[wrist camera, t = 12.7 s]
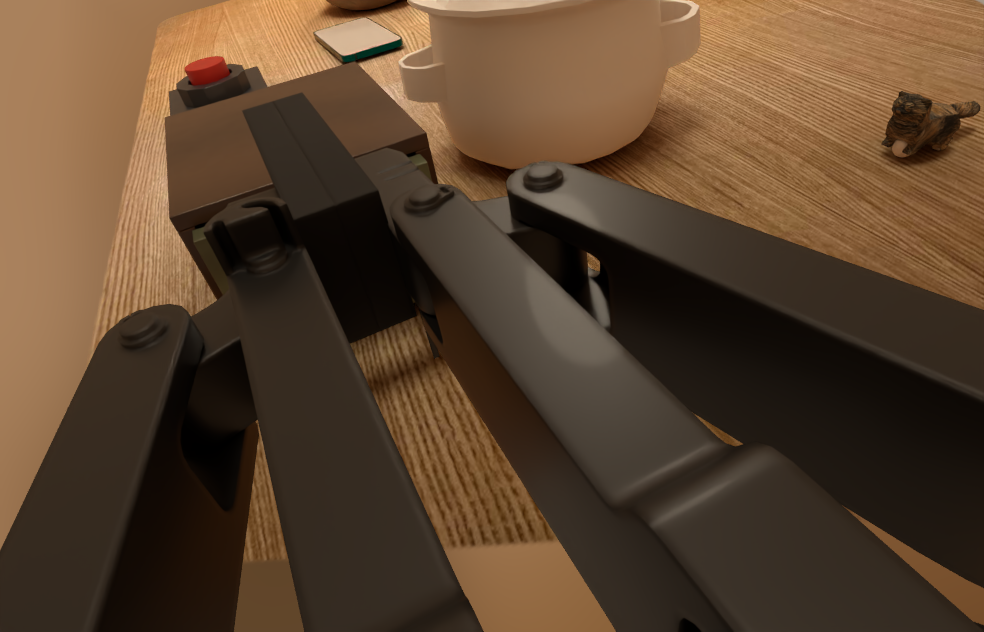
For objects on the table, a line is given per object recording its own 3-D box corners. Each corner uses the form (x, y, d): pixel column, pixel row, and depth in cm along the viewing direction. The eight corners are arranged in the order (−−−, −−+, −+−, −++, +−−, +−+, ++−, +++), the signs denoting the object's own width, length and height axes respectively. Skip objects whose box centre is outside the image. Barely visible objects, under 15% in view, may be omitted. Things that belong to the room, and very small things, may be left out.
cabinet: (461, 283, 36) (426, 132, 30) (254, 365, 34) (168, 217, 27) (391, 187, 47) (355, 61, 41) (230, 243, 44) (164, 117, 38)
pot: (655, 76, 56) (659, -80, 48) (733, 159, 42) (756, -37, 35) (419, 121, 56) (384, -26, 48) (424, 218, 43) (376, 37, 35)
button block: (181, 147, 60) (161, 108, 58) (178, 110, 69) (160, 75, 66) (280, 116, 63) (265, 77, 60) (264, 85, 71) (250, 49, 69)
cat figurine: (857, 153, 40) (883, 90, 37) (937, 139, 43) (965, 80, 40) (895, 169, 38) (925, 103, 35) (976, 153, 41) (1009, 91, 38)
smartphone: (313, 39, 83) (344, 65, 72) (311, 32, 83) (341, 57, 71) (368, 23, 85) (406, 46, 74) (366, 16, 85) (404, 38, 73)
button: (193, 91, 62) (184, 73, 60) (191, 80, 64) (183, 63, 63) (232, 79, 62) (225, 62, 61) (229, 70, 65) (221, 53, 64)
